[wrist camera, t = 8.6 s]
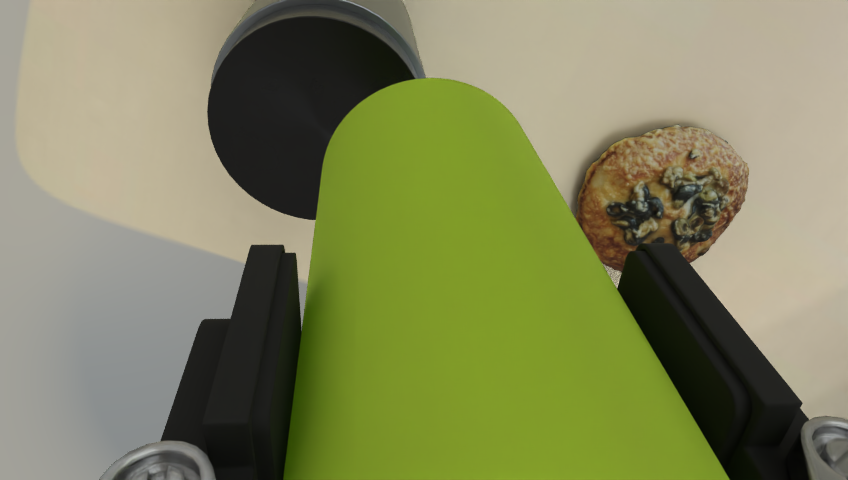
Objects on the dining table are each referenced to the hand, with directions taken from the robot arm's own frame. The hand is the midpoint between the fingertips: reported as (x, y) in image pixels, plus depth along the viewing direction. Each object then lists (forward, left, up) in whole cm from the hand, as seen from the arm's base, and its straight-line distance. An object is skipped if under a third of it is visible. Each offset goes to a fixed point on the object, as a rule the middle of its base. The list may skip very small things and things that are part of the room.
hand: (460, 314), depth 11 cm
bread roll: (+11, +18, -26) cm, 33 cm away
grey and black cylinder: (+2, -3, -26) cm, 26 cm away
